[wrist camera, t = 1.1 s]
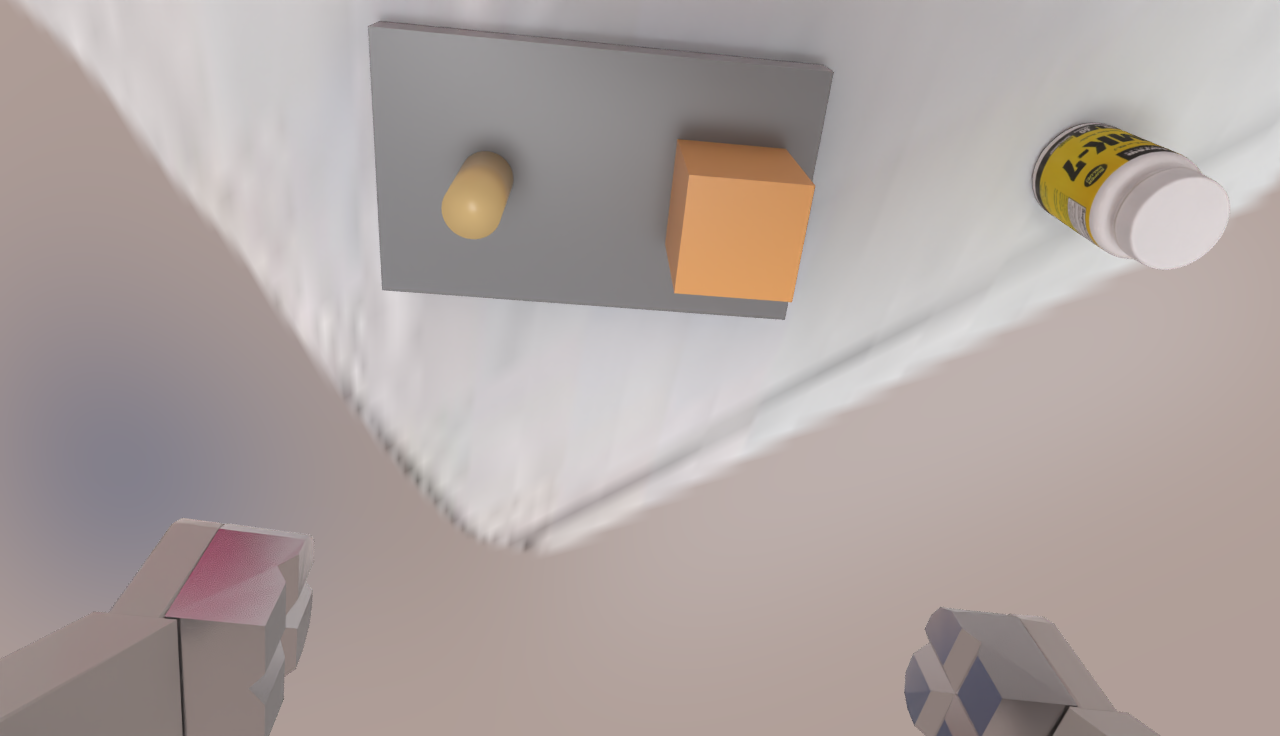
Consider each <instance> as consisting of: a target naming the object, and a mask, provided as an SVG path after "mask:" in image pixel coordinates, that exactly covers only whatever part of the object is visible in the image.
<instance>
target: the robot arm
mask: <svg viewBox="0 0 1280 736" xmlns="http://www.w3.org/2000/svg"><path fill="white" fill-rule="evenodd" d="M313 563H314V539H313V538H312V536H311V535H309V534H301V533H294V532H287V531H279V530H272V529H265V528H258V527H250V526H243V525H236V524H228V523H227V524H222V523H216V522H208V521H201V520H194V519H186V518H182V519H180V520H178V521H176V522H175V523H173V524H172V525H171V526H170V527H169V529H168V530H167V531H166V533H165V534H164V536H163V537H162V538H161V540H160V541H159V543H158V544H157V545H156V547H155V548H154V550H153V551H152V552H151V554H150V555H149V557H148V558H147V559H146V561H145V562H144V563H143V565H142V566H141V568H140V569H139V570H138V572H137V573H136V575H135V576H134V577H133V579H132V580H131V582H130V583H129V584H128V586H127V587H126V589H125V590H124V591H123V593H122V594H121V596H120V597H119V598H118V600H117V601H116V602H115V604H114V605H113V607H112V608H111V609H110V611H109V612H108V613H106V612H92V613H90V614H88V615H86V616H84V617H82V618H80V619H78V620H76V621H74V622H72V623H70V624H68V625H66V626H64V627H62V628H60V629H58V630H56V631H54V632H52V633H50V634H48V635H46V636H44V637H42V638H40V639H39V640H37V641H35V642H33V643H31V644H29V645H27V646H25V647H23V648H21V649H19V650H17V651H15V652H13V653H11V654H9V655H7V656H5V657H3V658H1V659H0V736H269V735H270V732H271V730H272V727H273V725H274V722H275V720H276V717H277V715H278V712H279V710H280V707H281V705H282V702H283V700H284V677H285V676H286V675H288V674H289V673H291V672H292V671H293V670H295V669H296V667H297V664H298V662H299V659H300V656H301V654H302V651H303V648H304V643H305V640H306V636H307V632H308V628H309V623H310V617H311V610H312V596H313V595H312V594H313V590H312V589H311V588H310V586H309V585H308V584H307V583H306V579H307V577H308V575H309V572H310V570H311V567H312V565H313ZM925 631H926V634H927V636H928V639H929V643H928V644H926V645H925V646H924V647H922V648H921V649H919V650H918V651H916V652H915V653H914V654H913V656H912V658H911V661H910V663H909V666H908V668H907V670H906V675H905V692H904V693H905V698H906V704H907V708H908V711H909V714H910V716H911V719H912V721H913V723H914V726H915V727H917V728H918V729H919V730H920V731H921V732H922V733H923V734H924V735H925V736H1160V735H1159V734H1158V733H1156V732H1155V731H1153V730H1152V729H1150V728H1149V727H1148V726H1146V725H1145V724H1143V723H1142V722H1141V721H1139V720H1138V719H1136V718H1135V717H1133V716H1132V715H1130V714H1129V713H1127V712H1118V711H1117V710H1116V709H1115V708H1114V706H1113V705H1112V703H1111V702H1110V701H1109V699H1108V698H1107V696H1106V695H1105V694H1104V692H1103V691H1102V689H1101V688H1100V687H1099V685H1098V684H1097V682H1096V681H1095V680H1094V678H1093V677H1092V676H1091V674H1090V673H1089V671H1088V670H1087V669H1086V667H1085V666H1084V664H1083V663H1082V662H1081V660H1080V659H1079V657H1078V656H1077V655H1076V653H1075V652H1074V650H1073V649H1072V648H1071V646H1070V645H1069V644H1068V642H1067V641H1066V639H1065V638H1064V637H1063V635H1062V634H1061V632H1060V631H1059V630H1058V628H1057V627H1056V625H1055V624H1054V623H1052V622H1051V621H1049V620H1048V619H1046V618H1045V617H1039V616H1028V615H1017V614H1008V615H1005V614H998V613H988V612H980V611H970V610H961V609H952V608H942V607H940V608H939V609H938V610H936V611H935V612H934V613H933V614H932V615H931V617H930V619H929V621H928V623H927V625H926V627H925Z"/></svg>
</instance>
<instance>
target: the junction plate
mask: <svg viewBox="0 0 1280 736" xmlns="http://www.w3.org/2000/svg"><path fill="white" fill-rule="evenodd" d="M368 34H369V53H370V72H371V90H372V109H373V127H374V146H375V165H376V183H377V202H378V220H379V239H380V258H381V276H382V290H388V291H401V292H415V293H428V294H442V295H456V296H469V297H483V298H496V299H510V300H523V301H537V302H551V303H564V304H578V305H591V306H605V307H619V308H632V309H646V310H659V311H673V312H686V313H700V314H714V315H727V316H741V317H754V318H768V319H782V320H785V316H786V311H787V306H788V302H783V301H770V300H756V299H743V298H730V297H717V296H703V295H690V294H677V293H674V289H673V284H672V279H671V273H670V268H669V262H668V257H667V252H666V246H665V240H666V232H667V223H668V215H669V206H670V198H671V189H672V180H673V172H674V163H675V155H676V146H677V139H682V140H693V141H704V142H715V143H726V144H737V145H748V146H760V147H771V148H782V149H786V150H787V151H788V152H789V153H790V155H791V156H792V157H793V158H794V160H795V161H796V162H797V163H798V165H799V166H800V167H801V168H802V170H803V171H804V172H805V174H806V175H807V176H808V177H809V179H810V180H811V181H812V179H813V174H814V169H815V164H816V159H817V154H818V149H819V144H820V139H821V134H822V129H823V124H824V119H825V114H826V109H827V104H828V98H829V93H830V88H831V83H832V78H833V73H834V72H833V71H832V70H830V69H829V68H827V67H826V66H824V65H819V64H809V63H799V62H788V61H778V60H768V59H758V58H748V57H738V56H728V55H717V54H707V53H697V52H687V51H677V50H667V49H657V48H646V47H636V46H626V45H616V44H606V43H596V42H586V41H575V40H565V39H555V38H545V37H535V36H525V35H515V34H504V33H494V32H484V31H474V30H464V29H454V28H444V27H433V26H423V25H413V24H403V23H393V22H383V21H379V22H377V23H374V24H372V25H370V26H368Z"/></svg>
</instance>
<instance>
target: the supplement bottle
mask: <svg viewBox="0 0 1280 736" xmlns="http://www.w3.org/2000/svg"><path fill="white" fill-rule="evenodd" d="M1033 190H1034V194H1035V197H1036V199H1037V201H1038V203H1039V204H1040V205H1041V207H1042V208H1043V209H1044V210H1045V211H1047V212H1048V213H1050V214H1051V215H1052V216H1054V217H1056V218H1057V219H1058V220H1060V221H1061V222H1063V223H1064V224H1066V225H1067V226H1069V227H1070V228H1072V229H1073V230H1075V231H1076V232H1077V233H1079V234H1080V235H1082V236H1083V237H1085V238H1086V239H1088V240H1089V241H1091V242H1092V243H1094V244H1095V245H1097V246H1098V247H1100V248H1101V249H1103V250H1104V251H1106V252H1108V253H1110V254H1112V255H1114V256H1117V257H1121V258H1127V259H1135V260H1137V261H1139V262H1140V263H1142V264H1144V265H1146V266H1148V267H1151V268H1154V269H1162V270H1169V269H1176V268H1180V267H1183V266H1186V265H1188V264H1190V263H1192V262H1194V261H1196V260H1198V259H1199V258H1201V257H1202V256H1204V255H1205V254H1206V253H1207V252H1208V251H1209V250H1211V248H1212V247H1213V246H1214V245H1215V244H1216V243H1217V241H1218V240H1219V239H1220V237H1221V236H1222V234H1223V232H1224V231H1225V229H1226V226H1227V223H1228V220H1229V215H1230V203H1229V198H1228V195H1227V193H1226V191H1225V190H1224V189H1223V187H1222V186H1221V185H1220V184H1218V183H1217V182H1216V181H1214V180H1212V179H1210V178H1208V177H1207V176H1205V175H1203V174H1202V173H1201V171H1200V170H1199V168H1198V167H1197V166H1196V165H1195V164H1194V163H1193V162H1192V161H1191V160H1189V159H1188V158H1187V157H1185V156H1183V155H1181V154H1179V153H1176V152H1174V151H1171V150H1169V149H1166V148H1164V147H1161V146H1159V145H1156V144H1154V143H1152V142H1149V141H1147V140H1144V139H1142V138H1139V137H1137V136H1135V135H1132V134H1130V133H1128V132H1125V131H1122V130H1121V129H1118V128H1116V127H1113V126H1110V125H1106V124H1102V123H1087V124H1082V125H1078V126H1075V127H1073V128H1071V129H1069V130H1067V131H1065V132H1063V133H1062V134H1060V135H1059V136H1058V137H1056V138H1055V139H1054V140H1053V141H1052V142H1051V143H1050V144H1049V145H1048V146H1047V147H1046V148H1045V149H1044V151H1043V152H1042V154H1041V155H1040V157H1039V159H1038V161H1037V163H1036V166H1035V169H1034V173H1033Z"/></svg>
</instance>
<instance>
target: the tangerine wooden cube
mask: <svg viewBox="0 0 1280 736" xmlns="http://www.w3.org/2000/svg"><path fill="white" fill-rule="evenodd" d="M814 189H815V185H814V184H813V182H812V181H811V180H810V179H809V177H808V176H807V175H806V174H805V172H804V171H803V170H802V168H801V167H800V166H799V165H798V163H797V162H796V161H795V160H794V158H793V157H792V156H791V155H790V153H789V152H788V151H787V150H786V149H782V148H771V147H760V146H748V145H737V144H726V143H715V142H704V141H693V140H682V139H677V146H676V155H675V163H674V172H673V180H672V189H671V198H670V206H669V215H668V223H667V232H666V240H665V246H666V252H667V257H668V262H669V268H670V273H671V279H672V284H673V289H674V293H677V294H690V295H703V296H717V297H730V298H743V299H756V300H770V301H783V302H792V299H793V294H794V289H795V284H796V279H797V274H798V269H799V264H800V259H801V254H802V249H803V244H804V239H805V234H806V229H807V224H808V219H809V214H810V209H811V204H812V199H813V194H814Z"/></svg>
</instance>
